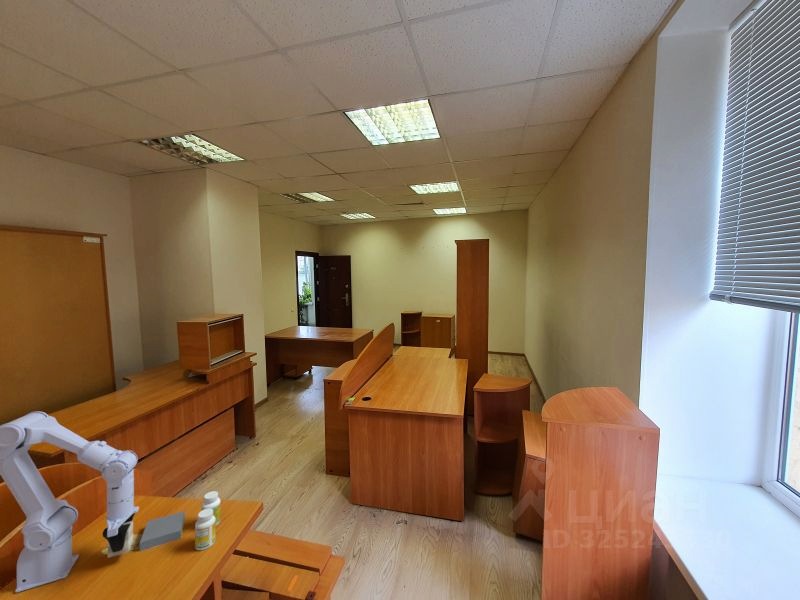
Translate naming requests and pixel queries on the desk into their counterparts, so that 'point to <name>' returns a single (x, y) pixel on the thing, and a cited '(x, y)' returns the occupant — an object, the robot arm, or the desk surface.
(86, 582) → the desk surface
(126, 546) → the cream block
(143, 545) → the base block
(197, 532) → the supplement bottle
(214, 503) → the supplement bottle
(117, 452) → the robot arm
